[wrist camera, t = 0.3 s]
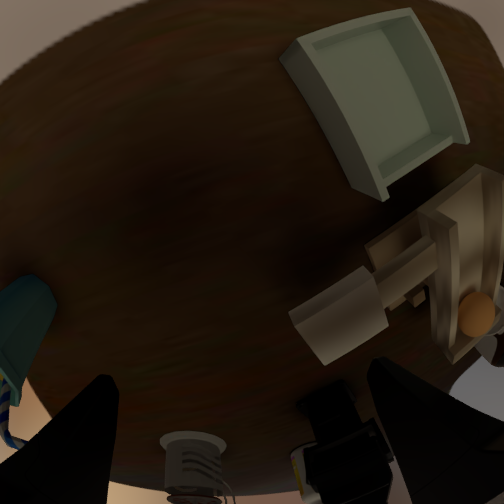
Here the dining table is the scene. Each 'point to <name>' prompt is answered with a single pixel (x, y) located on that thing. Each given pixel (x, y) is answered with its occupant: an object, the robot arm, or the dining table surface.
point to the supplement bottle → (304, 476)
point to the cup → (20, 340)
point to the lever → (420, 273)
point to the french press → (198, 456)
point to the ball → (476, 314)
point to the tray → (377, 96)
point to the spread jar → (494, 337)
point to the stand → (398, 252)
